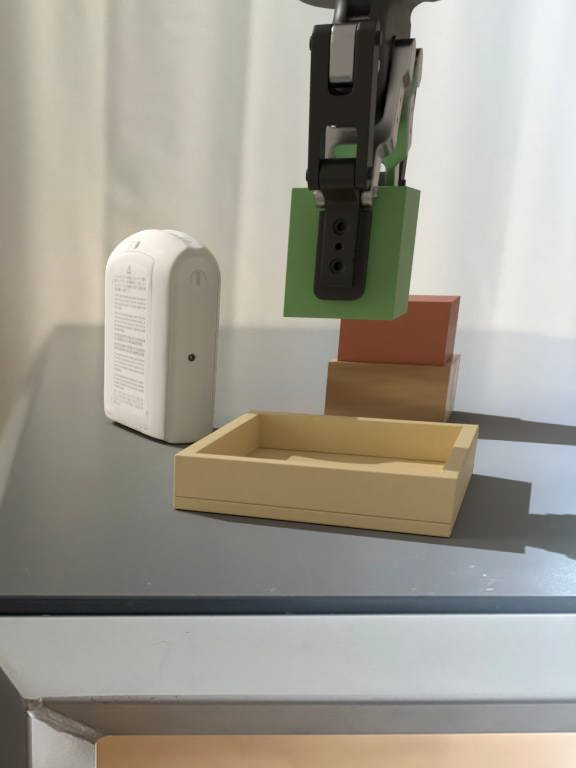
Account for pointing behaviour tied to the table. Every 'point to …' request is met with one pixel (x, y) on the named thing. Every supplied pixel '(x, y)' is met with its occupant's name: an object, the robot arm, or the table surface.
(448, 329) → the middle block
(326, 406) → the base block
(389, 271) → the green block
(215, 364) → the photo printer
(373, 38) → the robot arm
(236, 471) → the tray
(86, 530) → the table surface
